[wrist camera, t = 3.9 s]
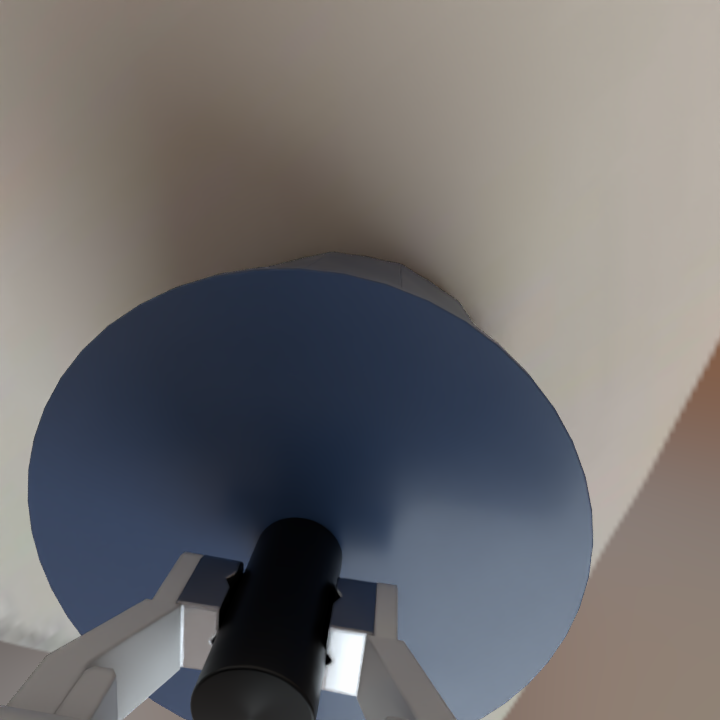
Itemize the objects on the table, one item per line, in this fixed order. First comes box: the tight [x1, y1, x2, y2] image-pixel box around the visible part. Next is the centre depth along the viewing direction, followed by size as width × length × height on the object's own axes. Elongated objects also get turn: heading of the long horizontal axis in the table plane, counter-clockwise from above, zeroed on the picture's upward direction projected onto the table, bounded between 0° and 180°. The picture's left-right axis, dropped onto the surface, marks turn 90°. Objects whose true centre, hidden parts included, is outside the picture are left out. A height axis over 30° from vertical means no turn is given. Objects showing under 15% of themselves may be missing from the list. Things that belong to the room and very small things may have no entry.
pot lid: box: [28, 266, 593, 720], centre depth 12 cm, size 16×16×6 cm
